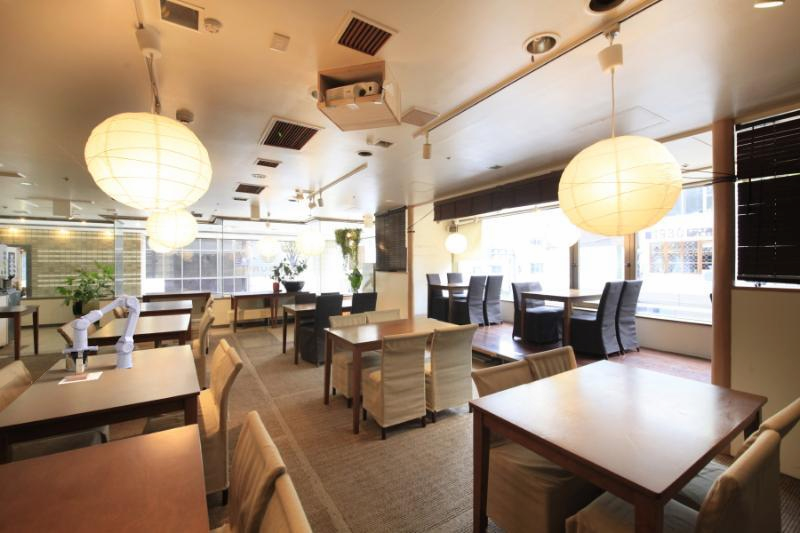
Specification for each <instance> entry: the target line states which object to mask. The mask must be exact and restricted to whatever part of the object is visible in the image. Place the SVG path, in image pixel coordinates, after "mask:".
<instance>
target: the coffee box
mask: <svg viewBox="0 0 800 533" xmlns="http://www.w3.org/2000/svg"><path fill="white" fill-rule="evenodd" d="M87 347H89V345H88V342H87ZM70 348H73V342H70V343H66V344H65V347H64V349H70ZM83 352H84V351H80V352H78V357H79V356H83ZM70 353H71V352H70ZM70 353H65V371H70V372H76V365H75V362H74V360H73V358H72V357H71V355H70ZM87 369H89V355H88V356H87V359H86V363H85V370H87Z"/></svg>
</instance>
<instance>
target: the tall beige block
mask: <svg viewBox="0 0 800 533" xmlns="http://www.w3.org/2000/svg"><path fill="white" fill-rule="evenodd" d="M85 370H86V369H85V364H83V356H79V357H78V358H77V359H76V371H75V375H78V374H84V372H85Z"/></svg>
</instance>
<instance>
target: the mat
mask: <svg viewBox="0 0 800 533" xmlns="http://www.w3.org/2000/svg"><path fill="white" fill-rule="evenodd" d="M88 373H89V372H88ZM102 374H103V371H97V372H90V373H89V377H88V378H87V379H83V380H76V381H68V382H67V378H68V377H69V376H70V375H65V376H64V377H63V378H62V379H61V381H59V382H58V384H57V385H63V384H64V385H65V384H70V383H71V384H72V383H79V382H80V383H81V382H87V381H95V380H98V379H99V378H100V376H102Z"/></svg>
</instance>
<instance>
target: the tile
mask: <svg viewBox="0 0 800 533" xmlns="http://www.w3.org/2000/svg"><path fill="white" fill-rule="evenodd" d="M68 376H69V377H68V378H67V382H68V381H76V380H83V379H87V378H88V377H89V372H87V373H78V374H71V375H68Z"/></svg>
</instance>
